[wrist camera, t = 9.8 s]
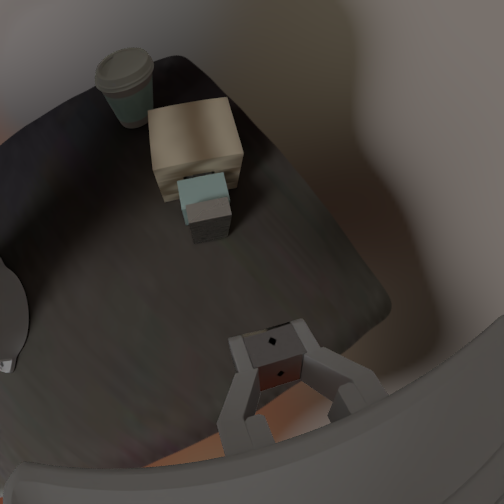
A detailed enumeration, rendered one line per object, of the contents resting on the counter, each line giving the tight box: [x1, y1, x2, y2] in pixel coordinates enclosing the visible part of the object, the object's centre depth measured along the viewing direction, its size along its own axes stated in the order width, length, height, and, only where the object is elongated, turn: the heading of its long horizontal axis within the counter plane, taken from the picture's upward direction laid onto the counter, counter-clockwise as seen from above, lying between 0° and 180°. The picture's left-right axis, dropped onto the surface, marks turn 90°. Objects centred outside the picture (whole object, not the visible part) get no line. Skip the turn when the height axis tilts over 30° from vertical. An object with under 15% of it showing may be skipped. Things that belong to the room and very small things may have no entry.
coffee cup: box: [95, 48, 154, 128], centre depth 33 cm, size 8×9×12 cm
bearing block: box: [148, 97, 244, 202], centre depth 34 cm, size 10×9×9 cm
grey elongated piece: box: [185, 172, 232, 244], centre depth 33 cm, size 4×18×8 cm, turn 14°
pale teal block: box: [177, 172, 230, 225], centre depth 33 cm, size 5×4×5 cm, turn 104°
